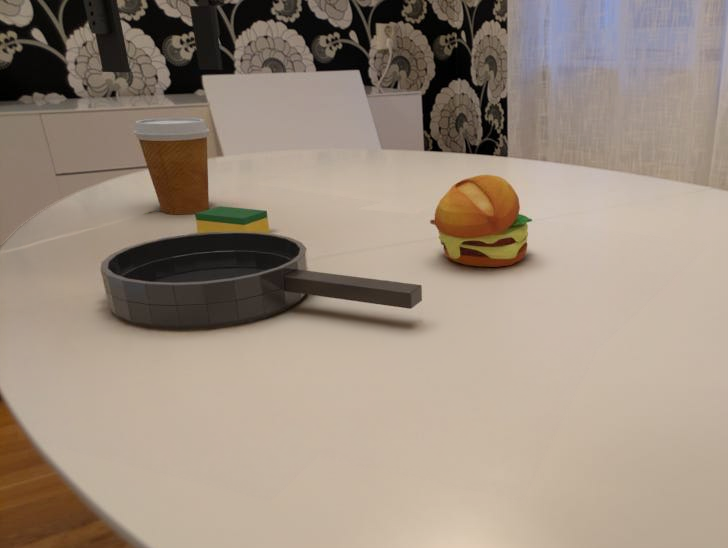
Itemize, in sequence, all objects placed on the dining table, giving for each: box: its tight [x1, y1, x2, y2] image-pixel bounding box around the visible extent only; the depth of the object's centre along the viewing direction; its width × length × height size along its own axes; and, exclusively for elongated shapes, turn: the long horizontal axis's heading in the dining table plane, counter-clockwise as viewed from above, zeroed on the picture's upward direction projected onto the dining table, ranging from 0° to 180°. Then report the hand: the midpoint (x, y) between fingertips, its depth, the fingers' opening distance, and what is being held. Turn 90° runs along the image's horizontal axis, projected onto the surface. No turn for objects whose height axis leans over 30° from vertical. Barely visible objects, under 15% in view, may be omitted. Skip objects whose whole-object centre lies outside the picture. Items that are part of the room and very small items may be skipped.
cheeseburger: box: [429, 174, 533, 268], centre depth 73 cm, size 10×11×10 cm
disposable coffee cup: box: [133, 117, 210, 215], centre depth 93 cm, size 10×10×12 cm
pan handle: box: [283, 270, 423, 310], centre depth 57 cm, size 12×2×1 cm, turn 70°
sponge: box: [194, 205, 271, 234], centre depth 82 cm, size 7×4×3 cm, turn 70°
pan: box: [99, 232, 310, 331], centre depth 61 cm, size 17×17×4 cm
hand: (167, 71), depth 72 cm, fingers open, 13 cm apart
